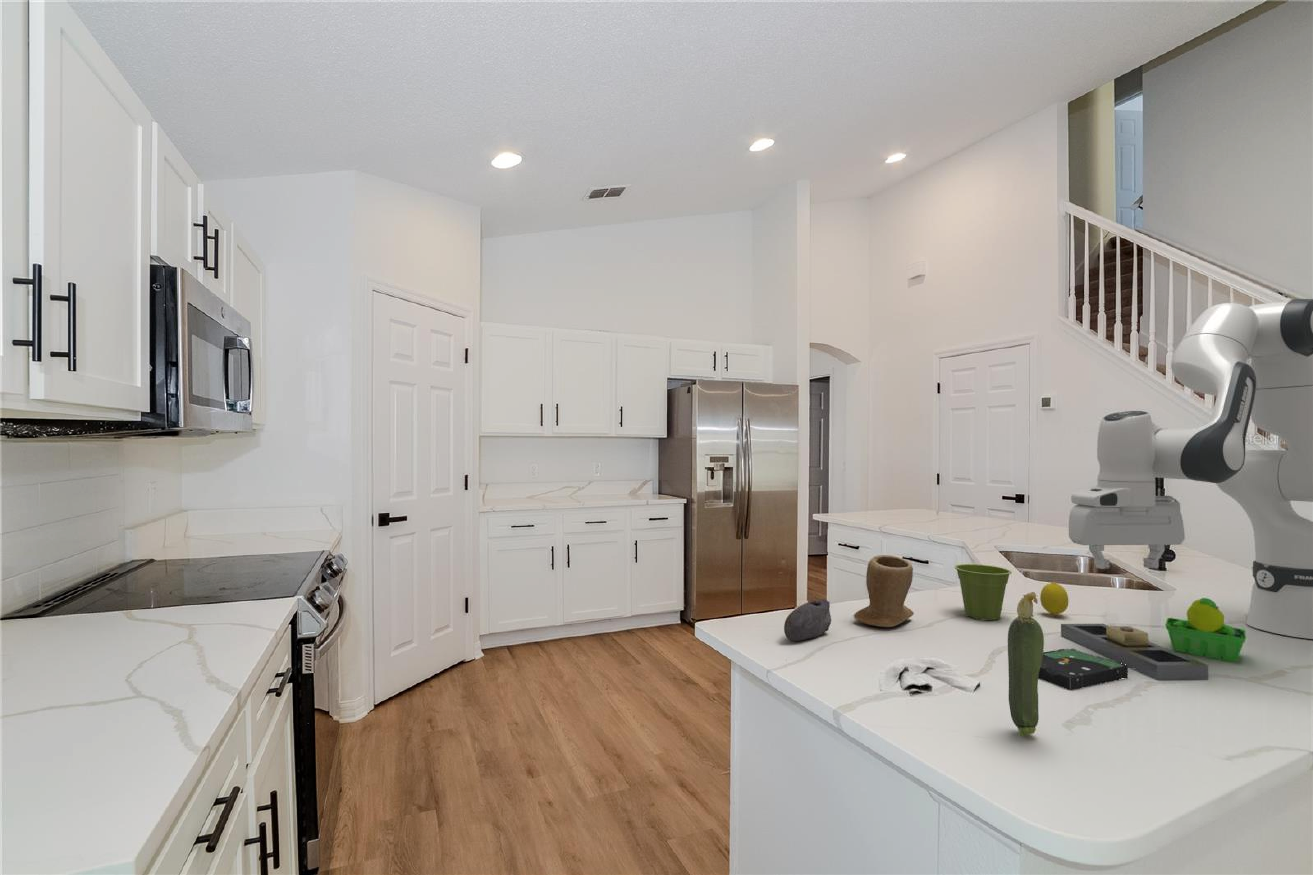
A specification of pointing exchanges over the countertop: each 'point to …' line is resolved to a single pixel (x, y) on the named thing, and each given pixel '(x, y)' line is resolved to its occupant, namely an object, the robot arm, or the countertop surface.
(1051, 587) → the lemon
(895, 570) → the stone cup
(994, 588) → the plant pot
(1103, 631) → the rail
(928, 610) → the countertop surface
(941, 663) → the cloth
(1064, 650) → the disk drive
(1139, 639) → the nut
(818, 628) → the perforated stone tool
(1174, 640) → the fruit basket
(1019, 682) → the vegetable
